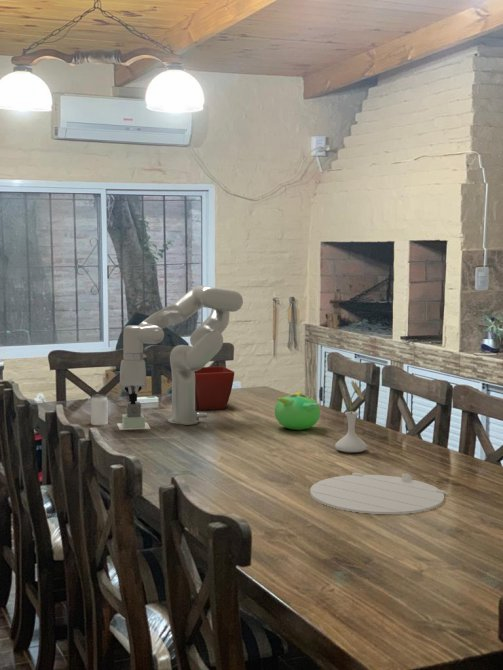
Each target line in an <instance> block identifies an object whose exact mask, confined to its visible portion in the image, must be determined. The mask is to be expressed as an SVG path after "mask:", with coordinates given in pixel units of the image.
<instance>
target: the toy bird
mask: <svg viewBox="0 0 503 670" xmlns="http://www.w3.org/2000/svg"><path fill="white" fill-rule="evenodd" d="M302 393H303V392H302V391H300V390H299V391H296V392H293V394H289V395H286V396H284V397H278V398H277V403H276V404H275V407H274V416H275V419H276V421H277V422H278V423H279V424H280V425H281V426H282V427H284V428H286V429H290V430H296V431H300V430H301V431H302V430H307V429H309V428H313V427H314V426H316V424H317V423H318V422H319V419H320V417H321V407H320V405H319V403H318V402H317V401H316V400H315V399H314V398H313V397H311V396H309V395H306V394H302Z"/></svg>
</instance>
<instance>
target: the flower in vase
mask: <svg viewBox="0 0 503 670" xmlns="http://www.w3.org/2000/svg"><path fill="white" fill-rule="evenodd" d="M350 383H351V386H352V388H353V390H354V391H353V393H352V394H351V398H350V400H348V401H349V402H348V403H349V409H350V411H345V412H344V414H345V416H346V419H347V423H348V424H347V425H348V427H347V428H348V429H347V433H346V434H345V435H344V436H343V437H341V438H340V439H339V440H338V441H337V442H336V443H335V444H334V448H336V450H338V451H340V452H344V453H360V452H361V453H362V452H363V451H366V450H367V448H368V446H367V443H366V442H365V441H364V440H363V439H362V438H360V437H359V436H358V435H357V434H356V431H355V429H356V428H355V425H356V419H357V417H358V415H359V414H360V413H359V412H358V411H353V410H352V409H354V408H356V407H357V405H356V404H355V403H354V404H353V405H352V400H353V398H354V395H355V394H356V395H357V396H358V398H359V399H360V400H362V401H363V400H365V397H364V393H363V392H362V390H361V387H360V386H358V384H357V382H356V381H354V380H351V382H350Z"/></svg>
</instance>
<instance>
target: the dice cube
mask: <svg viewBox="0 0 503 670" xmlns="http://www.w3.org/2000/svg"><path fill="white" fill-rule="evenodd" d="M141 406H142V405H141V402H140V401H137V402H135V404H131V402H129V401H128V402H126V414H127V416H128V417H141V414H142V411H141V410H142V407H141Z"/></svg>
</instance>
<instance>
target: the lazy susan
mask: <svg viewBox="0 0 503 670" xmlns="http://www.w3.org/2000/svg"><path fill="white" fill-rule="evenodd" d="M444 494H448V495H449V492H447V491H446V490H442V489H439V488H438V487H436V486H434V485H432V484H429V483H426V482H423V481H420V480H415V479H413V478H412V476H411V475H410V474H409V473H402V474H401V477H400V476H394V475H381V474H363V473H359V472H352V474H347V475H340V476H334V477H329V478H325V479H321V480H320V481H317V482H316V483H313V484H312V486H311V487H310V489H309V495H310V496H311V498H312V499H313V500H314V499H315V500H314V501H316V502H317V501H318V503H319V504H321V505H323V504H324V506H326V505H327V507H329V506H330V507H329V508H332V507H333V509H335V508H336V509H335V510H339V509H340V510H339V511H344V510H346V511H345V512H349V511H352V512H351V513H355V512H359V513H358V514H363V513H370V514H369V515H375V514H400V515H409V513H413V514H418V513H417V512H419V513H423V512H422V511H424V512H427V511H426V510H428V511H430V510H429V509H432V510H434V509H436V508H438V507H439V506H438V505H440V504H441V503H442V502H443V500H444V501H445V495H444ZM443 503H444V502H443ZM443 503H442V504H443ZM442 504H441V505H442ZM441 505H440V506H441ZM437 506H438V507H437ZM435 507H436V508H435ZM433 508H434V509H433Z"/></svg>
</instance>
